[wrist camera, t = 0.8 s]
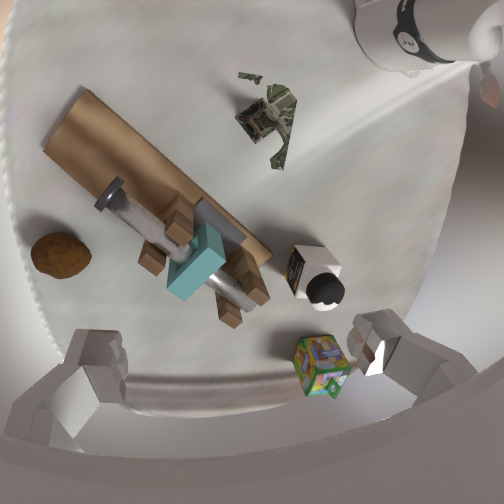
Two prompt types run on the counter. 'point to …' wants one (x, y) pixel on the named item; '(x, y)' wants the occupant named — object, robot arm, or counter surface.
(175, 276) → the teal holed block
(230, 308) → the shaft stand
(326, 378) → the chalk box
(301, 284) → the medicine bottle
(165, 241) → the shaft
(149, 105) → the counter surface
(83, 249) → the potato
